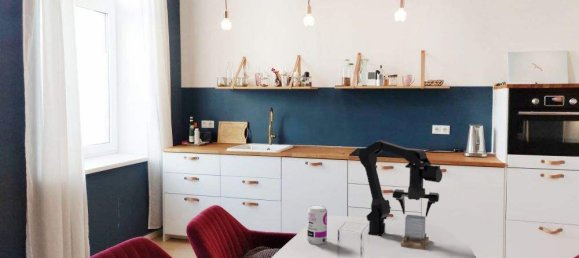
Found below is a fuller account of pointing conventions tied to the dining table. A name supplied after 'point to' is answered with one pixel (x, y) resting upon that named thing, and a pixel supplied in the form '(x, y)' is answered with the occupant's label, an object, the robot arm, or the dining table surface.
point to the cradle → (415, 242)
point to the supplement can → (317, 225)
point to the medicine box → (415, 226)
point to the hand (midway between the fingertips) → (415, 215)
